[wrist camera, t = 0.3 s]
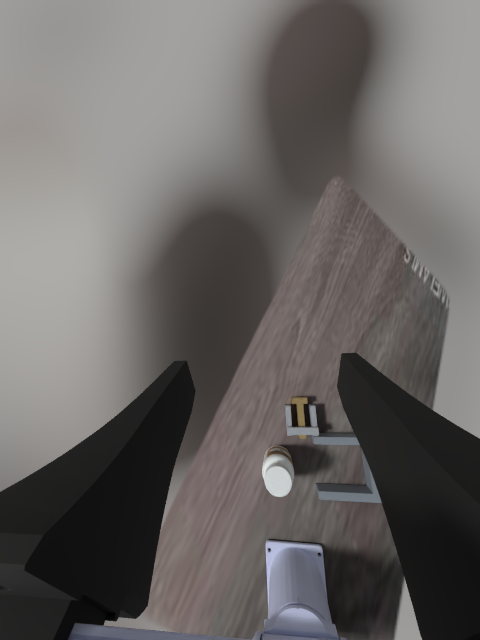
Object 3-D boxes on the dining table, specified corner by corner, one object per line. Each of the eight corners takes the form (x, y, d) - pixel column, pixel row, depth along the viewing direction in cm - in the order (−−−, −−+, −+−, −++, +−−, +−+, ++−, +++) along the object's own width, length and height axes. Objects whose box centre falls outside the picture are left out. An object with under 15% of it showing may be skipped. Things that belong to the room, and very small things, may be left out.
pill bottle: (293, 448, 36) (298, 467, 28) (289, 479, 35) (293, 506, 27) (266, 441, 36) (263, 457, 29) (261, 470, 35) (257, 495, 28)
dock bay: (374, 493, 32) (383, 504, 30) (290, 489, 34) (292, 499, 32) (361, 404, 36) (368, 406, 33) (284, 404, 37) (285, 406, 35)
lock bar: (309, 435, 35) (311, 438, 34) (294, 435, 36) (294, 438, 34) (305, 396, 37) (307, 397, 35) (291, 396, 37) (291, 397, 36)
